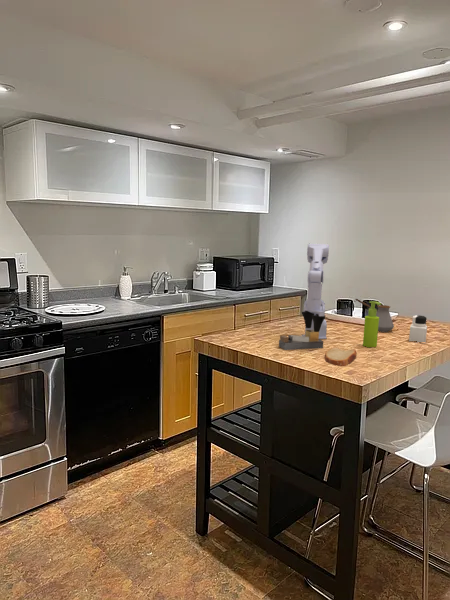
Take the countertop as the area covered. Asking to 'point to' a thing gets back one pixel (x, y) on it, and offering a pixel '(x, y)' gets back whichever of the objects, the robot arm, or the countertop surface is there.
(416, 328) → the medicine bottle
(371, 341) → the soap dispenser
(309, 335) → the brushed gold cube
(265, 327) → the countertop surface
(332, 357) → the bread slice
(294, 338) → the steel lever
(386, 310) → the coffee pot
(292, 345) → the grey piece
